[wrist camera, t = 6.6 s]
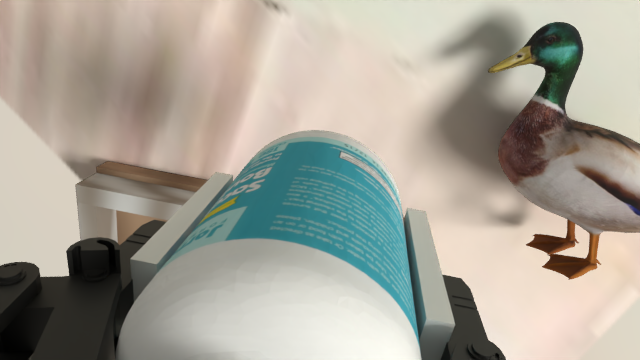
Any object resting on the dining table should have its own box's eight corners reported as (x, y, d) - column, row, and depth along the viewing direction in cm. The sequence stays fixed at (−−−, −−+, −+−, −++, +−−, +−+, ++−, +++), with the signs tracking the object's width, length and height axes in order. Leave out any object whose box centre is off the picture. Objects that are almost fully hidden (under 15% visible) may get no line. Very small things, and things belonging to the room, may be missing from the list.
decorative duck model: (507, 21, 20) (870, -12, 18) (477, 32, 28) (732, 9, 25) (495, 283, 24) (790, 289, 22) (472, 233, 32) (691, 233, 29)
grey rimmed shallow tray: (116, 303, 39) (89, 332, 36) (107, 161, 34) (75, 178, 30) (377, 359, 38) (378, 395, 34) (415, 220, 32) (421, 246, 28)
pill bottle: (270, 98, 17) (4, 322, 5) (428, 164, 17) (569, 539, 5) (223, 236, 20) (-14, 593, 8) (359, 290, 20) (340, 720, 8)
